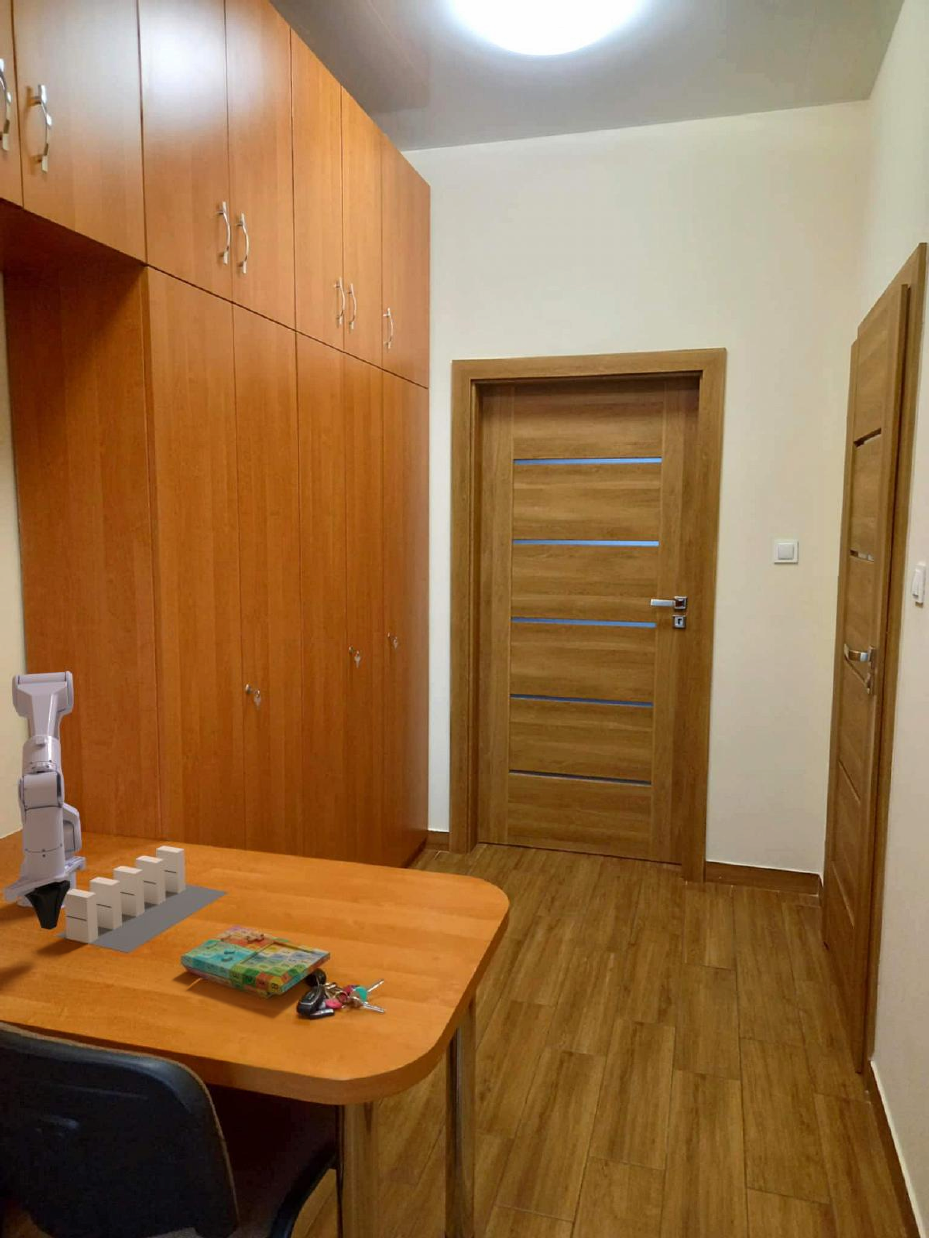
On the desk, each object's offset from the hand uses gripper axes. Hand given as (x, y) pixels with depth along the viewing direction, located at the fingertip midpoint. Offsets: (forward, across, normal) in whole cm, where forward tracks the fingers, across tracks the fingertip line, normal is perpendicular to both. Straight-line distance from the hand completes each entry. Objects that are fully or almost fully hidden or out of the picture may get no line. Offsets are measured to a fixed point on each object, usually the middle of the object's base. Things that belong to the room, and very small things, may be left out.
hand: (49, 927), depth 143 cm
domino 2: (+5, +12, 0) cm, 14 cm away
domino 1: (+5, +7, 0) cm, 9 cm away
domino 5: (+5, +29, 0) cm, 29 cm away
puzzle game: (+6, +9, -34) cm, 35 cm away
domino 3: (+5, +18, 0) cm, 19 cm away
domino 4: (+5, +24, 0) cm, 24 cm away
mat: (+6, +19, -3) cm, 20 cm away
